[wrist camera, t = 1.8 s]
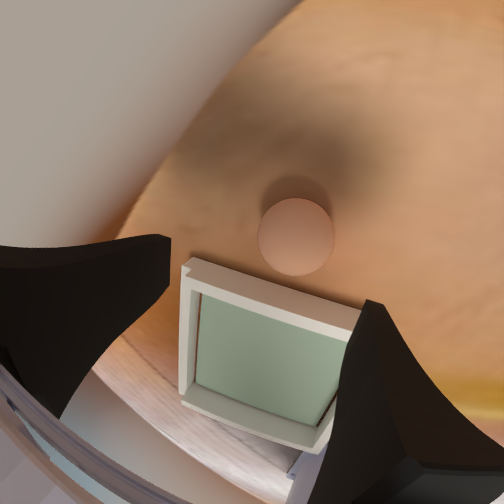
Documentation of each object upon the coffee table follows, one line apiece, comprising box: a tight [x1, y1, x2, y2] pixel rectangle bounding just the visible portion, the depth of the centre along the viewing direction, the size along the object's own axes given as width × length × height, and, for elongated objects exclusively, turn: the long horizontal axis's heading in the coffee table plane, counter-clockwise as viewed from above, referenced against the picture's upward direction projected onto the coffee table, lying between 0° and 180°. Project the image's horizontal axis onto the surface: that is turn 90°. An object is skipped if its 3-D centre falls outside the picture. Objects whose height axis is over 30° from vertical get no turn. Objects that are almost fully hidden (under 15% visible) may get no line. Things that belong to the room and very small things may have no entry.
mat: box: [196, 294, 348, 426], centre depth 22 cm, size 11×11×1 cm
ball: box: [257, 198, 335, 276], centre depth 16 cm, size 4×4×4 cm
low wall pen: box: [179, 257, 362, 455], centre depth 21 cm, size 14×14×2 cm
